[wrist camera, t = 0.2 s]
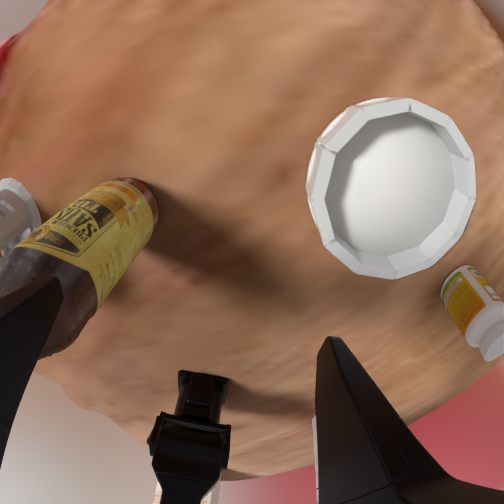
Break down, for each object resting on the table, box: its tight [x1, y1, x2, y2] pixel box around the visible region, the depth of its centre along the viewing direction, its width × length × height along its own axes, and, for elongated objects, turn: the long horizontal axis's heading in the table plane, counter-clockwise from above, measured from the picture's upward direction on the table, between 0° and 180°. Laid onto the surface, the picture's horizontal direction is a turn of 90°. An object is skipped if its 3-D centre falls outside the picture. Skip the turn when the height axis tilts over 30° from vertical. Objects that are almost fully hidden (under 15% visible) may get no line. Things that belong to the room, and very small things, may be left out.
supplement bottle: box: [441, 265, 504, 361], centre depth 21 cm, size 5×5×10 cm
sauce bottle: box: [0, 177, 159, 360], centre depth 14 cm, size 7×6×20 cm
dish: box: [305, 97, 476, 280], centre depth 19 cm, size 14×14×3 cm
